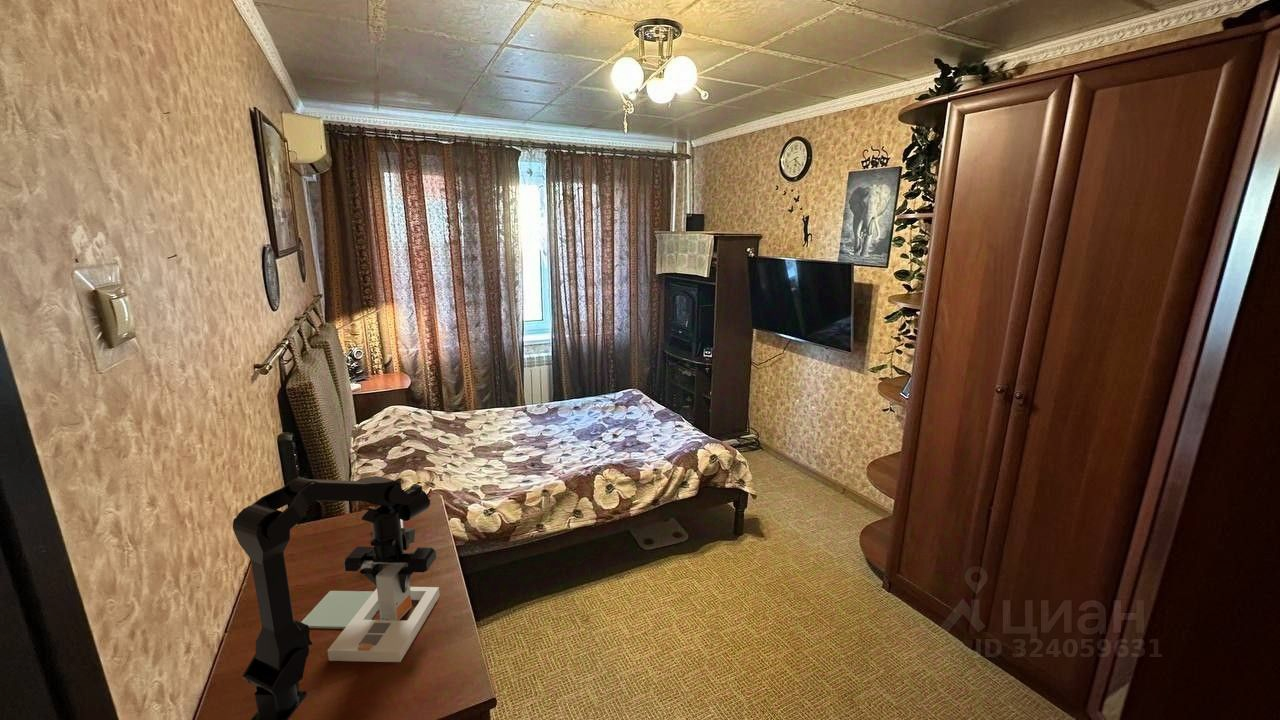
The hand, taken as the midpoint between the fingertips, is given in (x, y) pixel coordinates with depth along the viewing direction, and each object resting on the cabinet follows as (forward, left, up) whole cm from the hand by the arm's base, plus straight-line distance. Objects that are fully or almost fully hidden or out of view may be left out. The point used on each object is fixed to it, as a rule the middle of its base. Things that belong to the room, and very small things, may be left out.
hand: (394, 591), depth 120 cm
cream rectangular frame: (-5, 0, -6) cm, 8 cm away
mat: (+1, +14, -6) cm, 15 cm away
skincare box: (0, 0, -6) cm, 6 cm away
